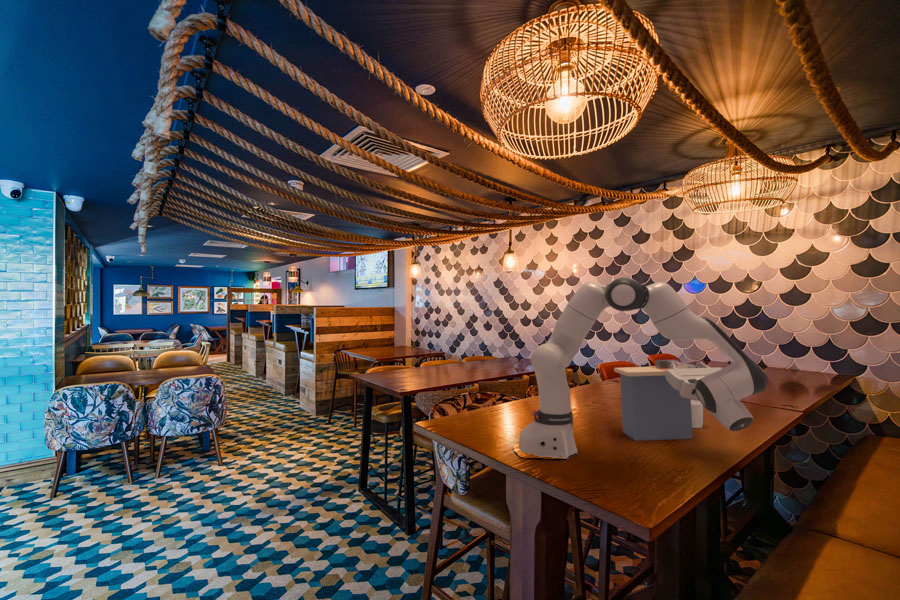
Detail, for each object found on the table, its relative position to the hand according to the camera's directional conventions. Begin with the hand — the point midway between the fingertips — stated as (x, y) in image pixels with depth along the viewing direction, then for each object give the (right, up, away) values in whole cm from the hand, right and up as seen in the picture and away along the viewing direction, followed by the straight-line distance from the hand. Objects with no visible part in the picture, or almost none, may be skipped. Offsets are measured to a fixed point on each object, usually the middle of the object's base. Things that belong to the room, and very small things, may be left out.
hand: (685, 363), depth 138 cm
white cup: (+16, -30, +20) cm, 39 cm away
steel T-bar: (0, -3, +5) cm, 6 cm away
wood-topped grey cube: (-5, -30, +10) cm, 32 cm away
